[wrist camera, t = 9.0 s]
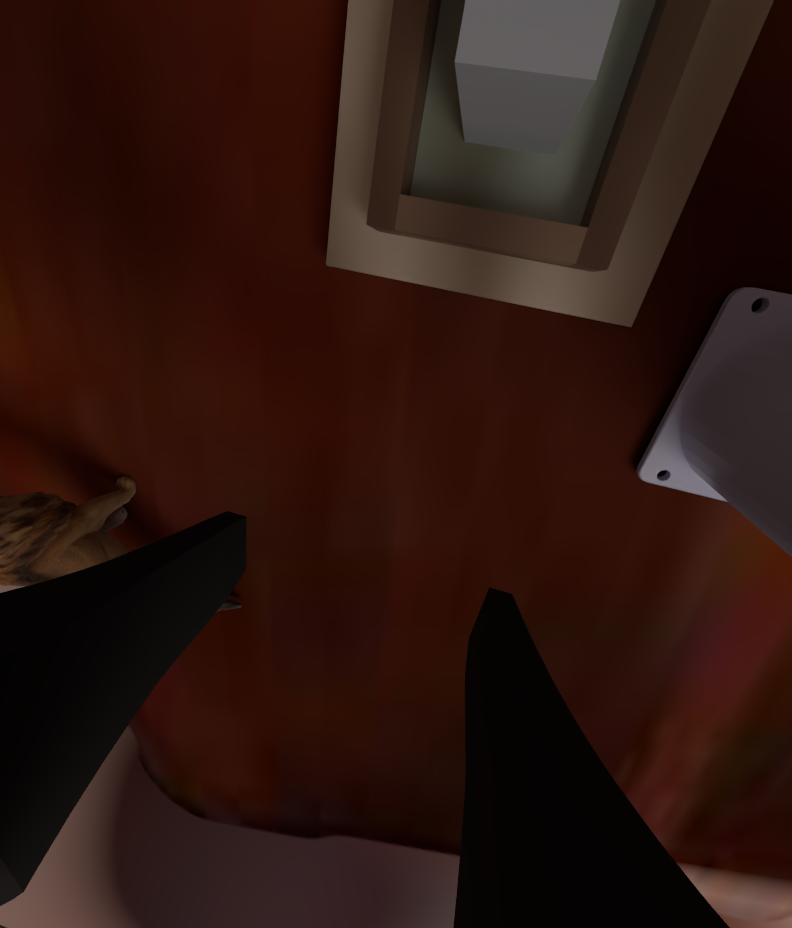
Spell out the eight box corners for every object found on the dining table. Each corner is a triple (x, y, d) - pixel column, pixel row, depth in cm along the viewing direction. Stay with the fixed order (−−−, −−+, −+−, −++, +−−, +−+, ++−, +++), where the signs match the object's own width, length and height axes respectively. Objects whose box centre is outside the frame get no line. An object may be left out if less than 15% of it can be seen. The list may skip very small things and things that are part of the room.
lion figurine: (58, 485, 26) (-134, 573, 18) (80, 433, 23) (-129, 507, 15) (229, 616, 28) (127, 748, 20) (265, 580, 25) (166, 714, 17)
